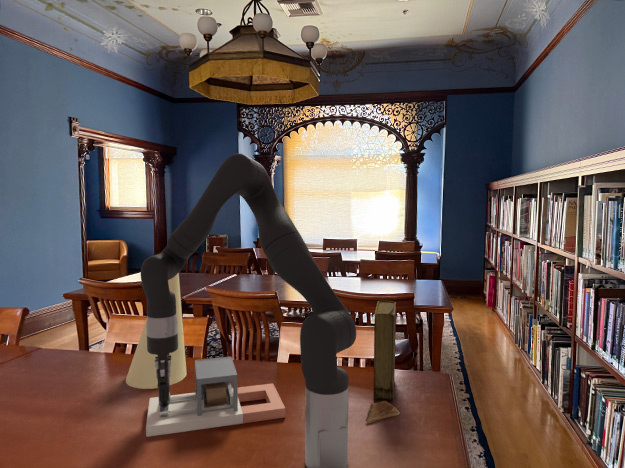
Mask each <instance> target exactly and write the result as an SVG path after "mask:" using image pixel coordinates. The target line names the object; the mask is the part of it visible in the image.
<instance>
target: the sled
mask: <svg viewBox="0 0 625 468" xmlns="http://www.w3.org/2000/svg"><path fill="white" fill-rule="evenodd" d="M168 379H169V378H168ZM163 382H166V381H163ZM160 383H162V382H160ZM170 387H171V385H170V380H169V387H168V395H169V399H168V401H164V402H160V401H159V406H160V417H162V416H170V415H178V414H185V413H193V412H197V408H189V409H181V410H173V411H168V410H169V404H170V401H178V400H186V399H194V398H197V394H193V395H185V396H177V397H170V395H171V391H170V390H171V389H170ZM232 388H233V385H232V386H231V383H230V382H229V383H227V391H226V395H227V396H228V400H229V403H228V404H220V405H213V406H205V407H204V397H206V393H203V388H202V386H201V407H202V411H208V410H216V409H224V408H231V407H233V390H232ZM157 392H158V395H157V397H158V399H159V388H157Z"/></svg>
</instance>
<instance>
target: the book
mask: <svg viewBox="0 0 625 468" xmlns="http://www.w3.org/2000/svg"><path fill="white" fill-rule="evenodd" d="M396 306H397V302H396V301H394V300H393V301H392V300H378V301H377V303H376V307H375V310H374V320H373V321H374V323H373V325H374V328H373V331H374V332H373V334H374V335H373V337H374V338H373V339H374V340H373V393H372V394H373V396H372V397H373V400H386V401H387V400H388V401H391V402H394V393H395V379H396V378H395V373H396V371H395V370H396V369H395V367H396V362H395V361H396V318H397V316H396V315H397V314H396V313H397V311H396V309H397V307H396Z"/></svg>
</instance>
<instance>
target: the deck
mask: <svg viewBox="0 0 625 468" xmlns="http://www.w3.org/2000/svg"><path fill="white" fill-rule="evenodd" d="M237 387H238V386H237ZM232 390H233V387H232ZM193 394H196V392H189V393H180V394H172V395H171V394H170V397H177V396H185V395H193ZM258 400H265V401H266V402H265V403H259V404H252V405H251V404H250V405H244V406H241V403H242V402H250V401H258ZM228 403H229V400H228V396H227V395H226V404H228ZM205 406H207V405H206V397H204V407H205ZM189 408H197V398H194V399H186V400H178V401H170V404H169V410H168V411H173V410H181V409H189ZM282 418H283V419H284V418H286V406H285V405H284V403H283V401H282V398H281V397H280V394H279V392H278V390H277V388H276V386H275V385H274V383H266V384H256V385H249V386H248V385H247V386H240V387H238V411H234V410H233V407H231V408H224V409H216V410H208V411H202V416H198V415H197V412H193V413H185V414H178V415H170V416H162V417H160V406H159V399H158V396H155V397H149V401H148V409H147V417H146V424H145V425H146V426H145V435H146V438H148V437H155V436H162V435H169V434H177V433H185V432H190V431H191V432H192V431H197V430H205V429H213V428H219V427H226V426H234V425H240V424H247V423H254V422H262V421H269V420H276V419H282Z"/></svg>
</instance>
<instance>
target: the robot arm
mask: <svg viewBox="0 0 625 468" xmlns="http://www.w3.org/2000/svg"><path fill="white" fill-rule="evenodd" d="M236 194H237V195H239V196H240V197H242V199H243V200H244V201H245V202H246V204H247V206H248V207H249V209H250V210H251V212H252V214H253V215H254V218H255V220H256V225H257V231H258V232H257V233H258V239H259V242H260V247H261V249H262V251H263V254H264V255H265V257H266V259H267V261H268V263H269V265H270V267H271V269H272V270H273V271H274V273H276V275H277V276H278V277H279V278H280V279H281V280H283V281H284V282H286V283H287V284H288V285H289V286H290V287H291V288H292V289H294V290H295V291H297V292H298V294H300V295H301V297H303V298H304V299H305V301H306V302H307V303H308V305H309V307H310V309H311V310H312V312H313V314H310V315H308V316H307V317H305V319H304V320H303V321H302V322H301V323H302V324H301V327H300V332H299V344H300V345H299V346H300V347H299V349H300V366H301V371H302V376H303V377H304V384H305V386H304V387H305V388H304V389H305V390H304V391H305V393H304V397H305V399H304V447H305V449H304V454H305V455H304V458H305V459H304V461H305V462H304V463H305V466H306V468H348V465H349V391H350V389H349V381H350V379H349V378H350V377H349V374H348V371H346V370H345V369H344V368H342V367H341V366H338V361H337V354H338V353H341V352H344V351H345V350H347V349H349V348H350V347H352V346H354V343H355V342H356V339H357V328H356V323H355V321H354V319H353V317H352V315H351V313H350V312H349V311H348V309H347V308H346V306H345V305H344V304H343V302H342V301H341V300H340V298H339V297H338V294H336V293H335V291H334V289H333V288H332V287H331V285H330V284H329V282H328V281H327V279H326V277H325V276H324V274H323V272H322V271H321V269H320V267H319V265H318V264H317V263H316V260H315V259H314V258H313V255H312V253H311V252H310V250H309V247H308V246H307V244H306V242H305V240H304V238H303V236H302V234H300V232H299V230H298V229H297V227H296V225H295V223H294V222H293V220H292V218H291V217H290V215H289V214H288V212H287V210H286V209H285V208H284V206H283V205H282V203H281V201H280V199H279V197H278V194H277V192H276V190H275V188H274V186H273V184H272V181H271V178H270V176H269V174H268V172H267V170H266V168H265V167H264V165H262V164H261V163H260V162H258V161H256V160H255V159H253V158H252V157H250V156H248V155H247V154H244V153H239V152H238V153H234V154H232V155H230V156H228V157H227V158H226V159H225V160H224V161H223V162H222V164H221V165H220V167H218V170H217V171H216V172H215V174H214V176H213V177H212V179H211V181H210V182H209V184H208V186H207V187H206V188H205V190H204V192H203V193H202V194H201V196H200V198H199V200H198V201H197V203H196V204H195V205H194V207H193V209H192V210H191V211H190V212H189V213H188V214H187V216H186V217H185V219H183V220H182V221H181V223H180V224H179V225H178V226H177V227H176V229H174V231H173V232H172V233H171V234H170V235H169V237H168V239H167V241H166V242H167V243H166V246H165V247H164V248H163V250H161V251H160V252H159V253H157V254H155V255H151V256H149V257H146V259H144V261H143V262H142V263H141V268H140V280H141V285H142V288H143V293H144V296H145V299H146V319H147V324H146V328H147V351H148V352H149V353H150V354H156V355H158V356H156V357H155V367H156V378H157V379H158V385H157V387H158V388H159V401H160V402H164V401H168V399H169V395H168V387H169V379H168V378H169V377H170V371H171V355H169V353H172V352H174V351H176V350H177V349H178V322H177V315H176V297H175V294H174V293H173V292H172V291H170V290H169V284H168V280H170V279H172V278H173V277H175V276H176V275H177V274H178V273H179V274H180V272H181V270H182V269H183V268H184V266H185V265H186V263H187V262H188V260H189V258H190V257H191V256H192V255H193V254H194V253H195V252H196V251H197V249H199V247H200V246H201V245H202V244H203V243H204V242H205V241H206V239H208V238H209V235H210V233H211V232H212V230H213V227H214V226H215V223H216V220H217V219H216V218H217V217H218V214H219V212H220V211H221V210H222V208H223V206H224V205H225V203H226V202H227V201H229V200H230V199H231V198H232V197H233V196H234V195H236ZM163 381H166V382H163ZM160 382H162V383H160ZM158 388H157V389H158Z"/></svg>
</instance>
